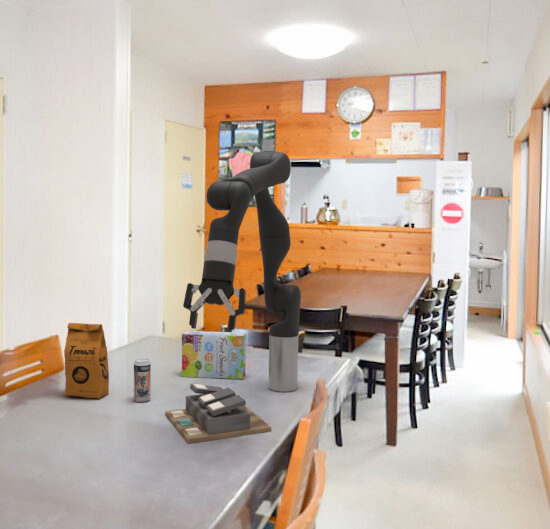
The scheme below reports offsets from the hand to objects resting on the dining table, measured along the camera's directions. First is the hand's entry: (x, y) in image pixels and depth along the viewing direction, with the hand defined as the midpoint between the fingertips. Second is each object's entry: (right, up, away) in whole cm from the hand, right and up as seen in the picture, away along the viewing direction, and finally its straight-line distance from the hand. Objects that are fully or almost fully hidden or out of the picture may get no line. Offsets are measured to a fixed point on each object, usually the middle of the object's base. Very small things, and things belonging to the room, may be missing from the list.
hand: (211, 330), depth 141 cm
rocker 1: (-4, -21, +25) cm, 33 cm away
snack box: (-6, -23, +64) cm, 69 cm away
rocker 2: (0, -21, +19) cm, 29 cm away
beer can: (-24, -25, +37) cm, 51 cm away
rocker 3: (+3, -22, +13) cm, 26 cm away
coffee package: (-42, -24, +41) cm, 64 cm away
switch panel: (-1, -27, +20) cm, 33 cm away
